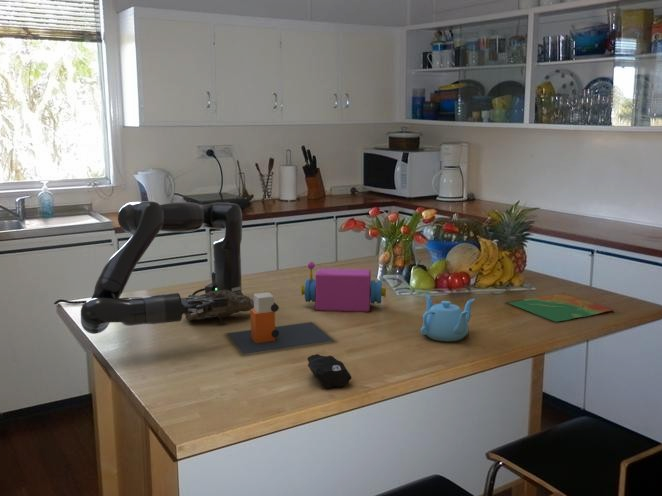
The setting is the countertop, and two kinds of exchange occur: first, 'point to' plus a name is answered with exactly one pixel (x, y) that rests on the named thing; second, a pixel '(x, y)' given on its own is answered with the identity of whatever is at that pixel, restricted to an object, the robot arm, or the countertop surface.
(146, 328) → the countertop surface
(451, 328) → the teapot
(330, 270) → the toy
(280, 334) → the mat
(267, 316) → the truck
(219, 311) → the fossil
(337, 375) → the rock
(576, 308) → the terrain model
